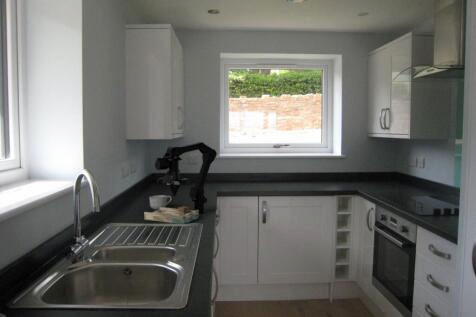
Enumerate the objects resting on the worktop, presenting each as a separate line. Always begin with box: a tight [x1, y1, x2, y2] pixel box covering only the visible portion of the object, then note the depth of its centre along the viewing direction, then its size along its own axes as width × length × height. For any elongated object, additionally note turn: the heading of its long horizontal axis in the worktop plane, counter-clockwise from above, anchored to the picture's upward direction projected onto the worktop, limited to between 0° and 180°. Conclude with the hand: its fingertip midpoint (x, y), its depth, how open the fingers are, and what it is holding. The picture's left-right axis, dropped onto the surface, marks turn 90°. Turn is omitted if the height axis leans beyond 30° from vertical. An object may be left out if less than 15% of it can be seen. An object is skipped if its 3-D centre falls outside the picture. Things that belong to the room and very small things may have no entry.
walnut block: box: [177, 205, 190, 215], centre depth 209 cm, size 4×4×4 cm
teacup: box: [149, 194, 172, 210], centre depth 236 cm, size 14×11×8 cm
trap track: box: [143, 207, 200, 225], centre depth 209 cm, size 15×26×4 cm, turn 66°
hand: (174, 196), depth 213 cm, fingers closed
